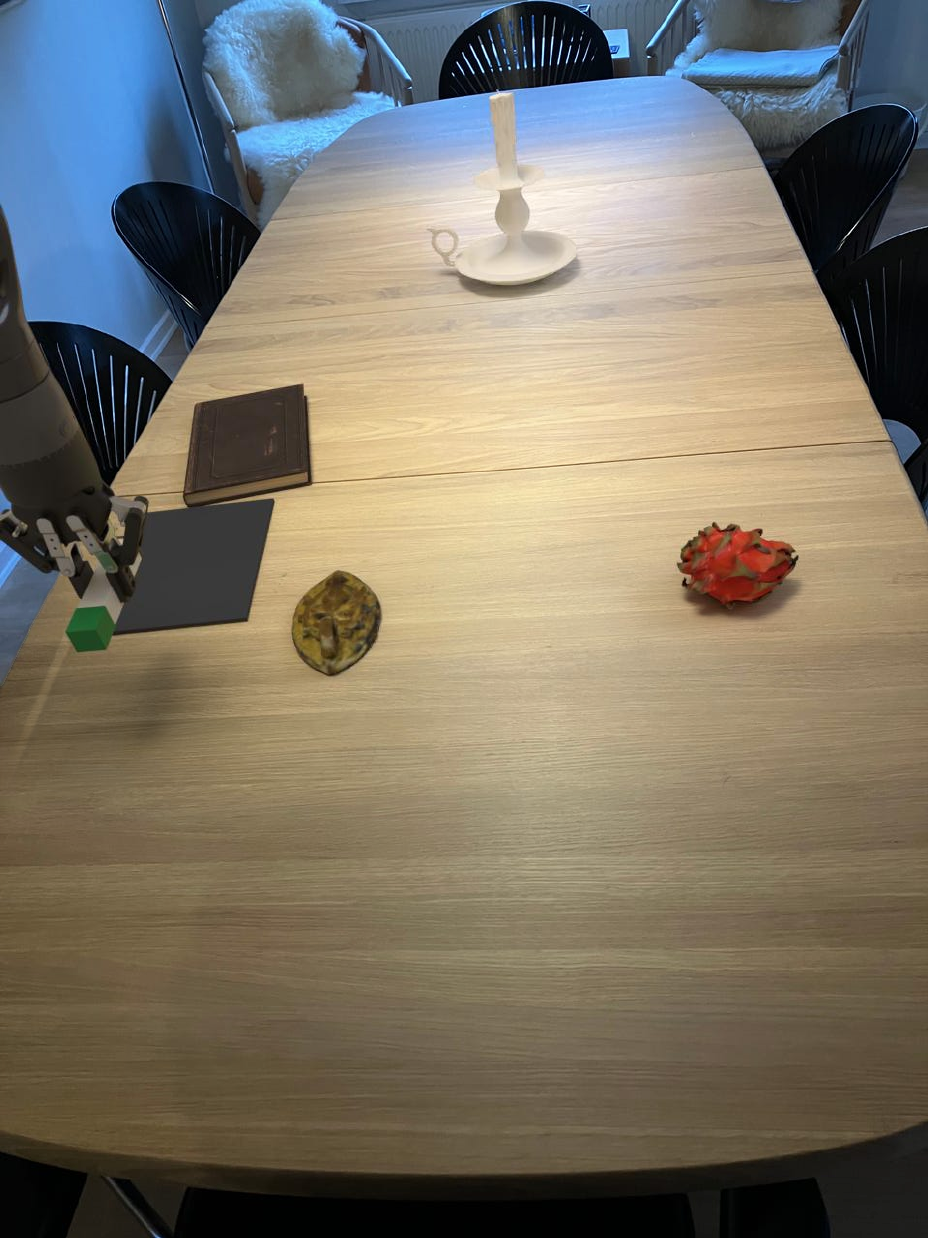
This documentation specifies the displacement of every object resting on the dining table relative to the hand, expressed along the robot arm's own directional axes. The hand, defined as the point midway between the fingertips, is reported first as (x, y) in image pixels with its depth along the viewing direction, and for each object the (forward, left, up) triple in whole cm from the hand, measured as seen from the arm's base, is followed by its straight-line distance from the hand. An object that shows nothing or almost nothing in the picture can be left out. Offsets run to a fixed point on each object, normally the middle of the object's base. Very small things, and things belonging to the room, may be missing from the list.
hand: (111, 597), depth 84 cm
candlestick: (+40, +92, -13) cm, 101 cm away
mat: (-1, +21, -13) cm, 24 cm away
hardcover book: (+2, +45, -13) cm, 46 cm away
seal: (+18, +8, -13) cm, 23 cm away
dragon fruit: (+59, +7, -13) cm, 60 cm away
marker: (0, 0, 0) cm, 0 cm away
